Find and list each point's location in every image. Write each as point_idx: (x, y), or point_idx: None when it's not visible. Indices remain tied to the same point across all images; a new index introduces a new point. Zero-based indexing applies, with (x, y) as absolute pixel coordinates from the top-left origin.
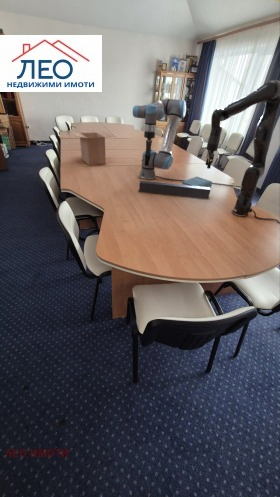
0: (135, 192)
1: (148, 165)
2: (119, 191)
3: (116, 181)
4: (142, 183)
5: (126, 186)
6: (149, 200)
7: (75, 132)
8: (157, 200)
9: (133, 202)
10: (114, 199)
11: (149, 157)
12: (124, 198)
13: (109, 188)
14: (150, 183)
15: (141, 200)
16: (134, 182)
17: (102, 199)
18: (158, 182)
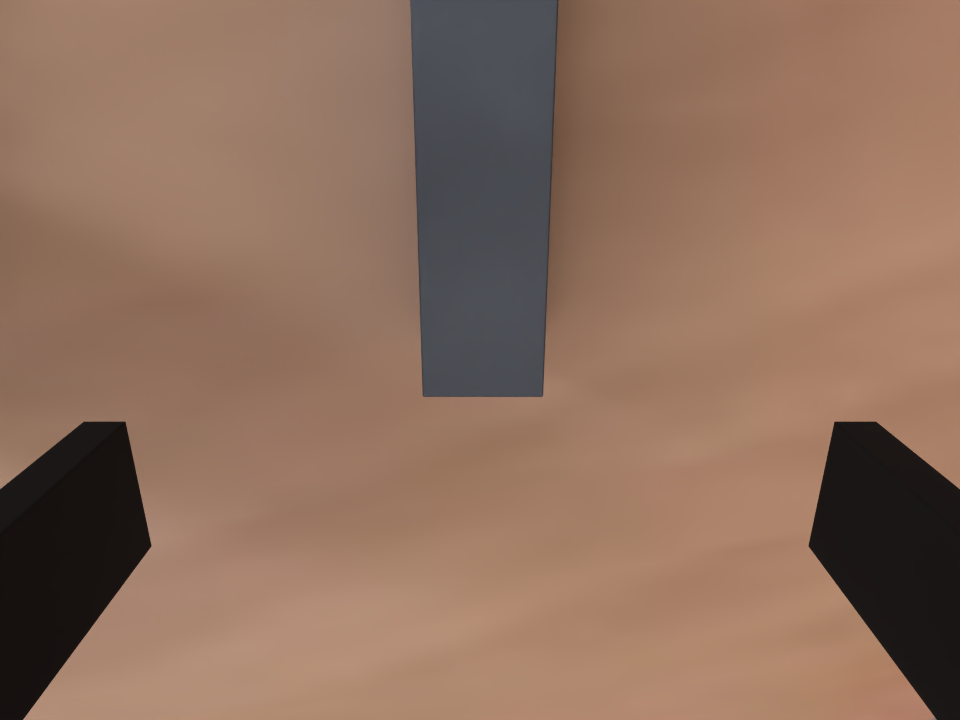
0: (557, 383)
1: (840, 423)
2: (569, 576)
3: (230, 661)
4: (543, 341)
5: (366, 524)
6: (831, 147)
7: None
8: (823, 6)
9: (910, 367)
10: (827, 587)
11: (50, 520)
12: (787, 489)
13: (500, 688)
14: (539, 187)
15: (838, 269)
16: (159, 444)
17: (836, 692)
18: (427, 2)
